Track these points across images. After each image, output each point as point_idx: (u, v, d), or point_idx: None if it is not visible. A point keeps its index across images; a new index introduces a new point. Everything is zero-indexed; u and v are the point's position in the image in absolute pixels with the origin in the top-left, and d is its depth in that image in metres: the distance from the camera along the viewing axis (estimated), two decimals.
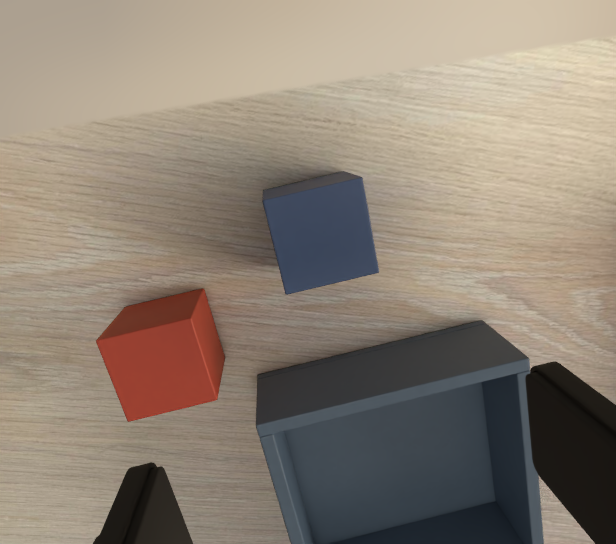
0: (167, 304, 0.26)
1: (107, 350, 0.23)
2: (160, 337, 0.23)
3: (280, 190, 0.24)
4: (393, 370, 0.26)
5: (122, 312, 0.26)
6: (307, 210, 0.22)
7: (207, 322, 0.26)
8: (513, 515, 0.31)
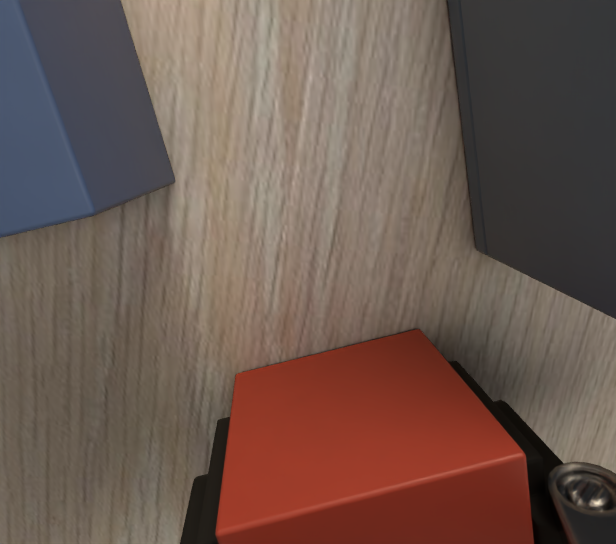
0: None
1: None
2: None
3: None
4: None
5: None
6: None
7: (300, 396, 0.10)
8: None
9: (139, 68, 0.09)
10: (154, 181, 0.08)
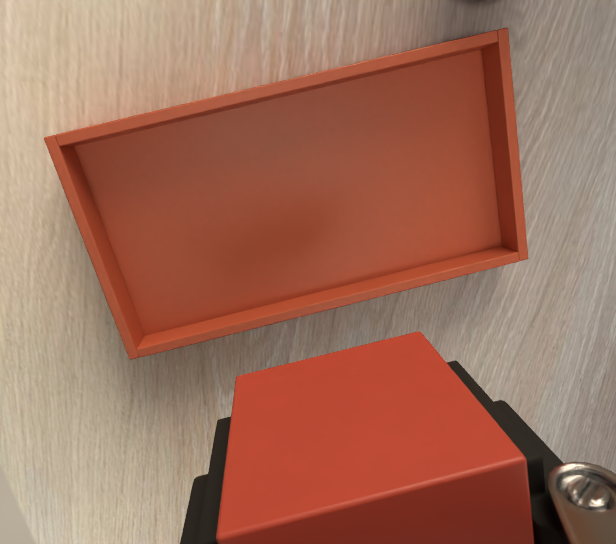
0: None
1: None
2: None
3: None
4: None
5: None
6: None
7: (300, 398, 0.10)
8: None
9: None
10: None
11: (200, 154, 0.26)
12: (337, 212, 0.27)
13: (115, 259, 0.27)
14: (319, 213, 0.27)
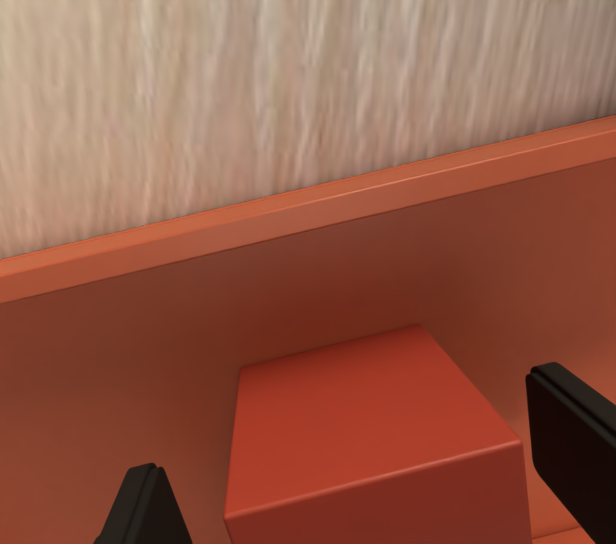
0: None
1: None
2: None
3: None
4: None
5: None
6: None
7: (303, 388, 0.10)
8: None
9: None
10: None
11: (114, 341, 0.11)
12: None
13: None
14: None
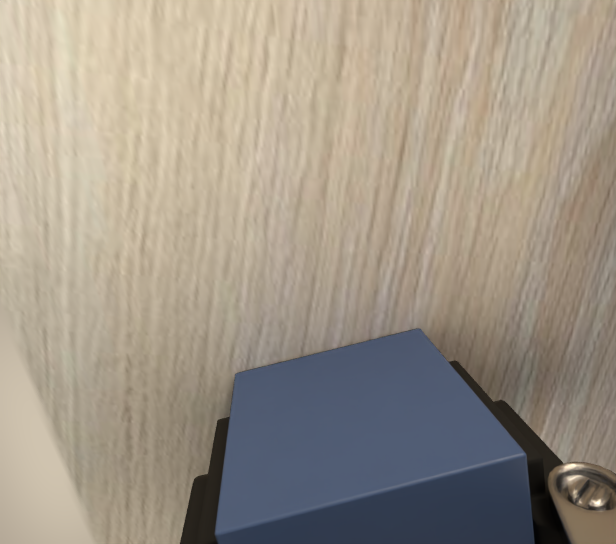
0: None
1: None
2: None
3: None
4: None
5: None
6: None
7: None
8: None
9: None
10: None
11: None
12: None
13: None
14: None
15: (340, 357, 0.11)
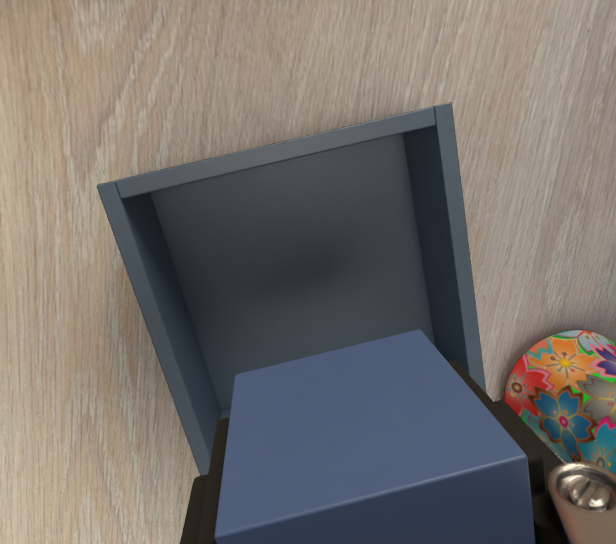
0: None
1: None
2: None
3: None
4: None
5: None
6: None
7: None
8: None
9: None
10: None
11: None
12: None
13: None
14: None
15: (340, 358, 0.11)
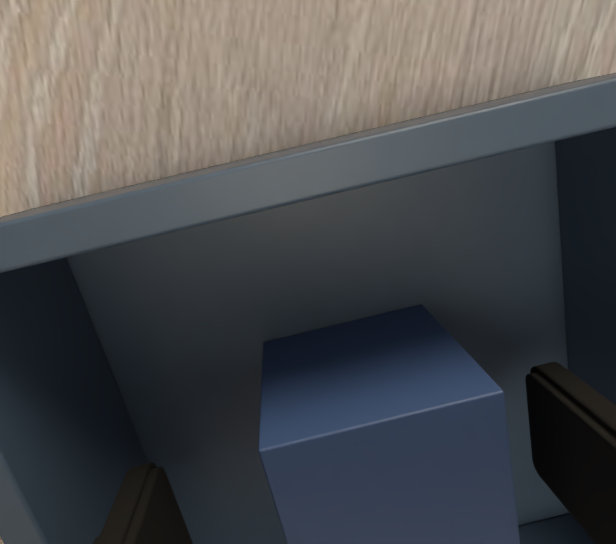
0: None
1: None
2: None
3: None
4: None
5: None
6: None
7: None
8: None
9: None
10: None
11: None
12: None
13: None
14: None
15: (353, 327, 0.13)
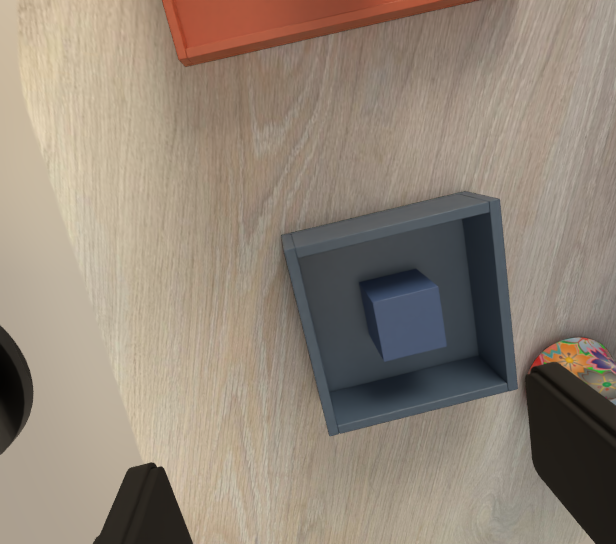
0: None
1: None
2: None
3: (373, 337, 0.36)
4: None
5: None
6: (391, 335, 0.33)
7: None
8: None
9: None
10: None
11: None
12: None
13: None
14: None
15: (392, 276, 0.37)
